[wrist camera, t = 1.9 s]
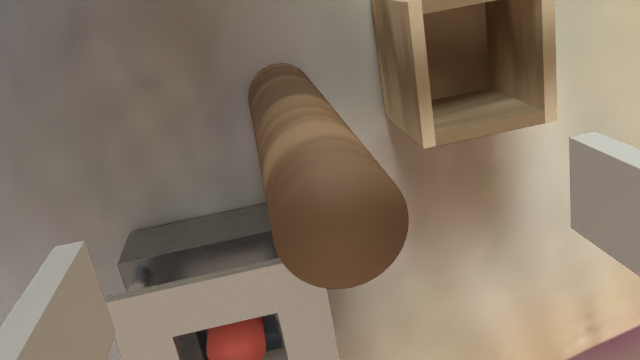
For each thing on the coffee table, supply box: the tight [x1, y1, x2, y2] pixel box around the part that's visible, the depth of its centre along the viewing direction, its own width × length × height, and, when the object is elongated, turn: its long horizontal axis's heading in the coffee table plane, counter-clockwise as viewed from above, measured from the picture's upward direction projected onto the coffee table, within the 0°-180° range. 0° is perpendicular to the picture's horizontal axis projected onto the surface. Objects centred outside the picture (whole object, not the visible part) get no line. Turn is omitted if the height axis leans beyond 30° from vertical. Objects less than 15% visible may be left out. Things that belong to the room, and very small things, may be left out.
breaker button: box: [206, 316, 266, 360], centre depth 30 cm, size 3×3×2 cm
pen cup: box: [371, 0, 557, 149], centre depth 29 cm, size 7×7×7 cm
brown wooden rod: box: [248, 64, 409, 289], centre depth 23 cm, size 4×4×18 cm
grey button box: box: [105, 203, 340, 360], centre depth 32 cm, size 10×10×8 cm
